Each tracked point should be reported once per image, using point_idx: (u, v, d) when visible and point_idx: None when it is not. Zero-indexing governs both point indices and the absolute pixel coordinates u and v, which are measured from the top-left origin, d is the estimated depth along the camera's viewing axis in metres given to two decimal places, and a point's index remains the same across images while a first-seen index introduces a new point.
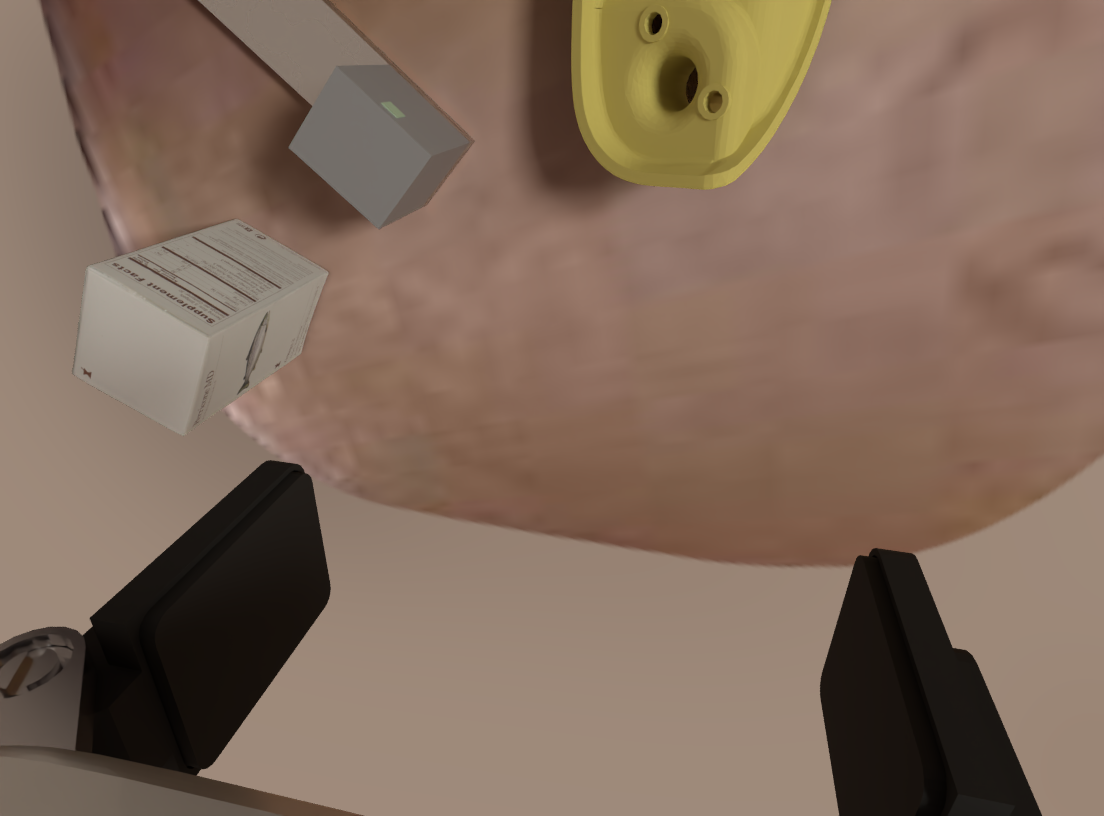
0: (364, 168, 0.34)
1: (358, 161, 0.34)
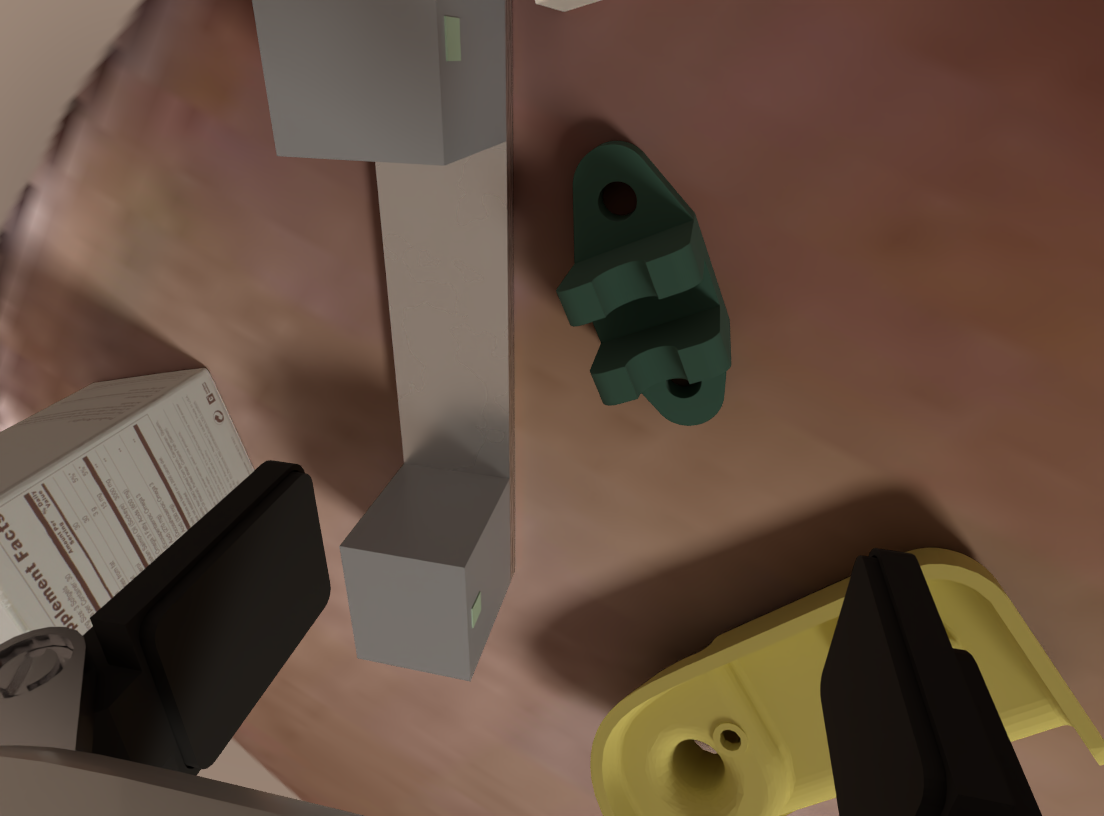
0: (397, 626, 0.27)
1: (399, 619, 0.27)
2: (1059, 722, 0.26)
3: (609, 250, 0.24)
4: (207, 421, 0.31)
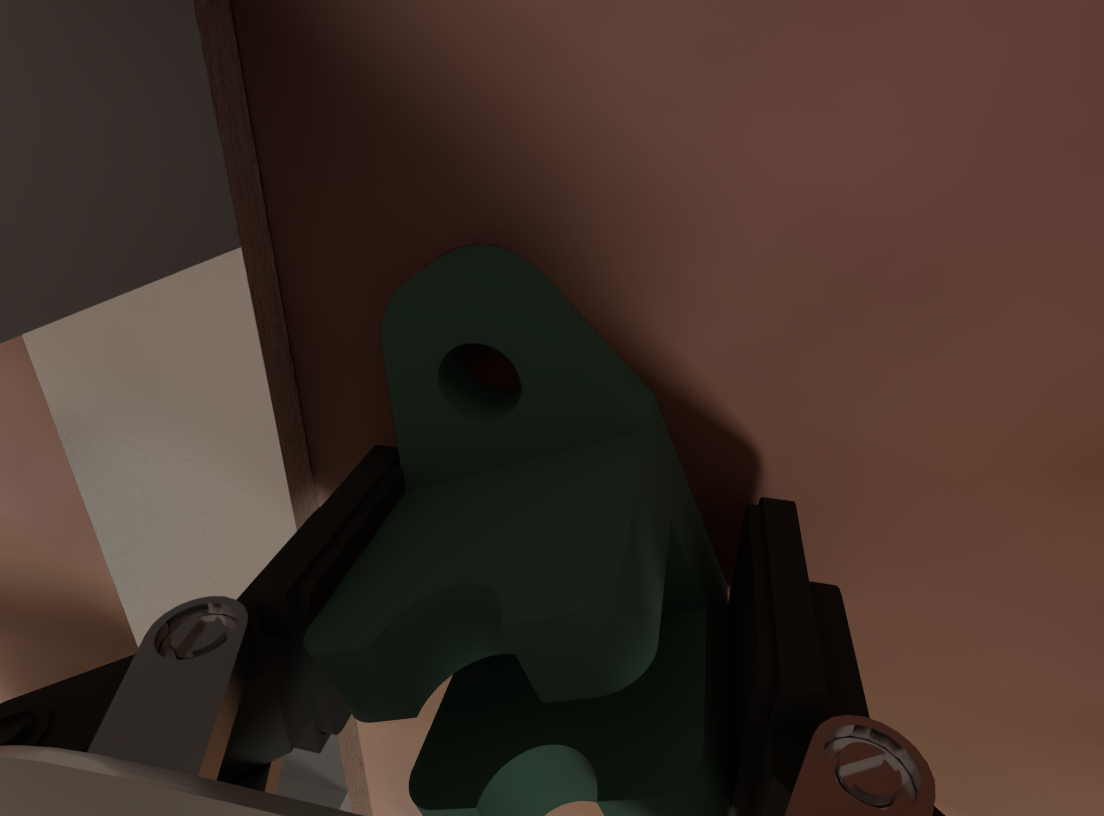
0: None
1: None
2: None
3: (471, 474, 0.11)
4: None
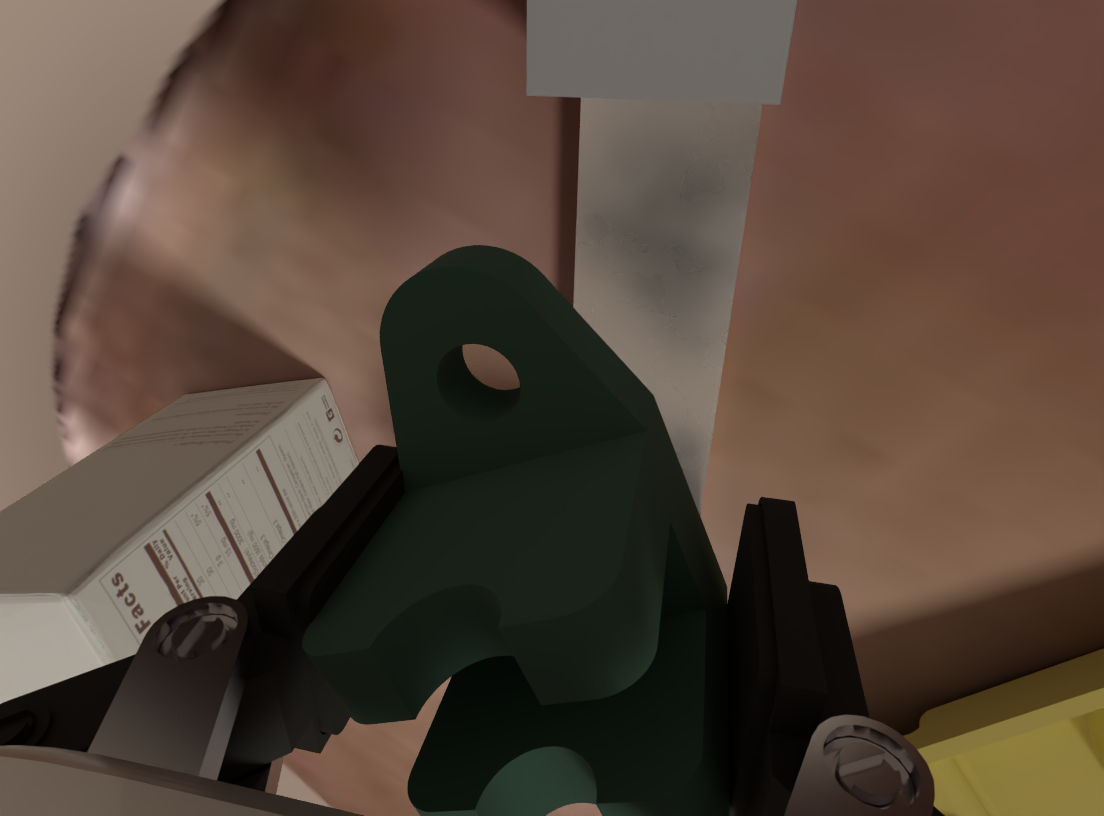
0: None
1: None
2: None
3: (470, 475, 0.11)
4: (327, 442, 0.26)
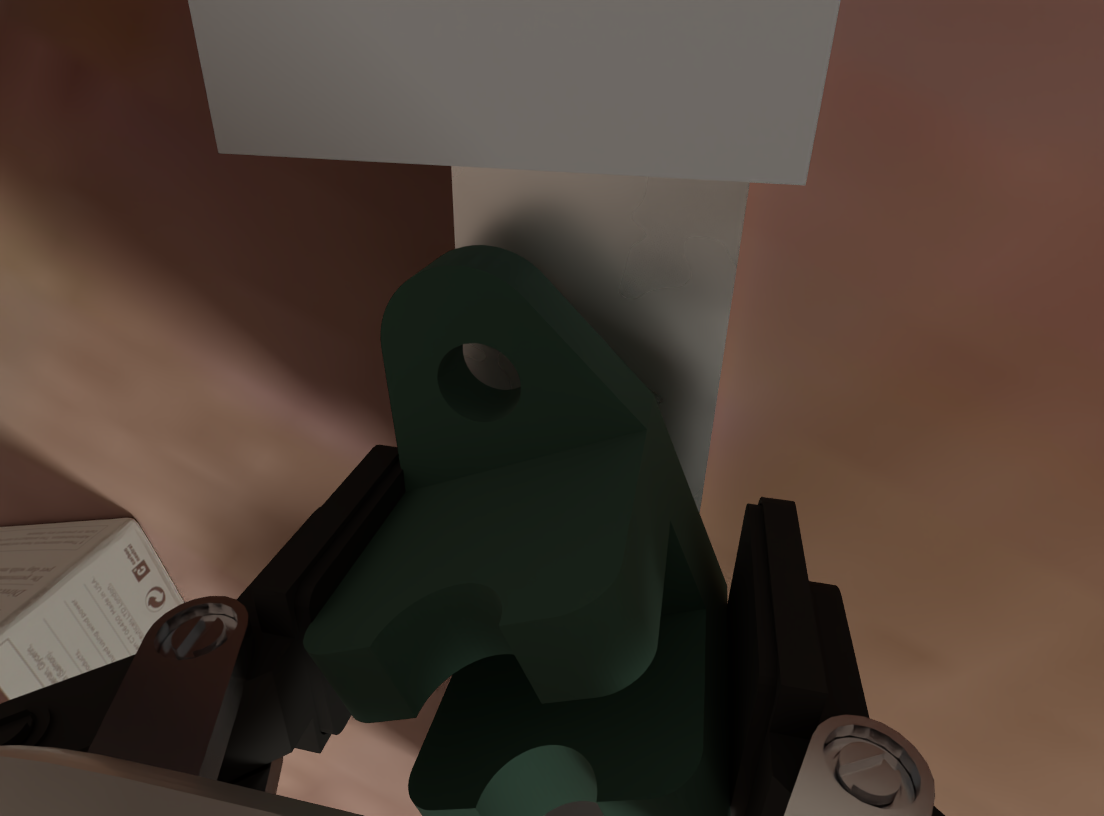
0: None
1: None
2: None
3: (471, 475, 0.11)
4: (134, 613, 0.18)
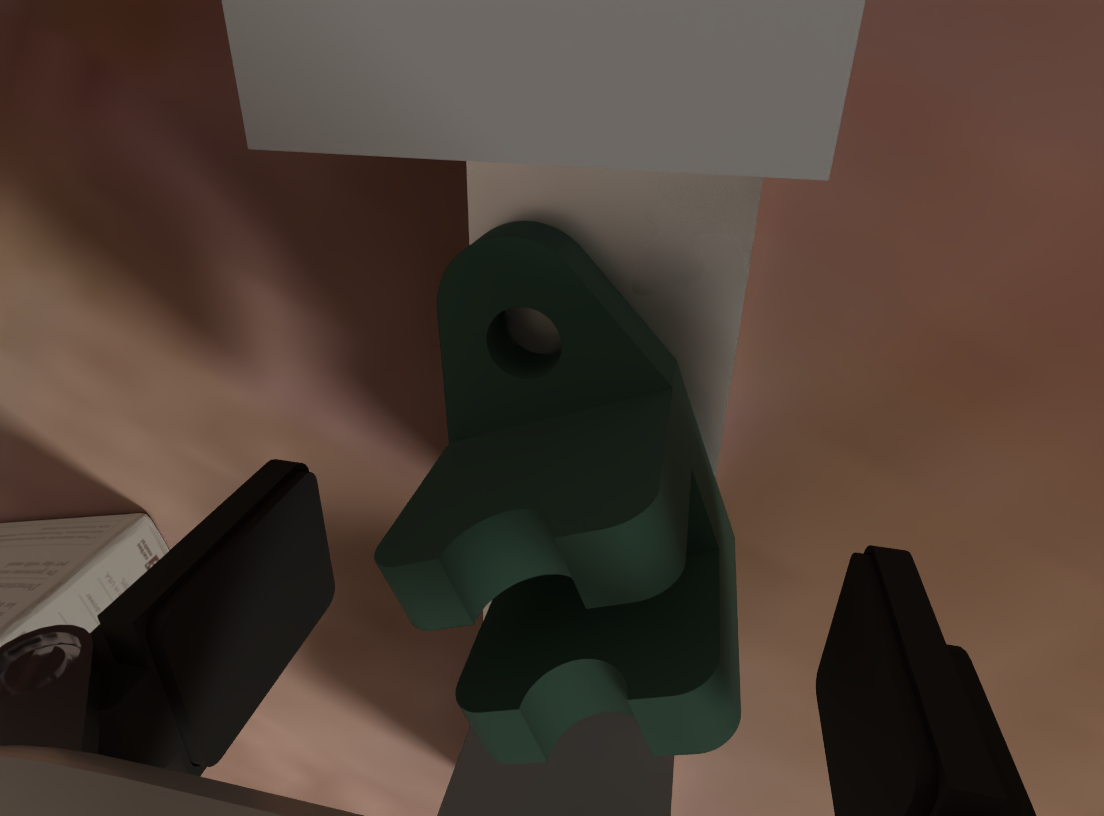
0: None
1: None
2: None
3: (511, 427, 0.12)
4: None
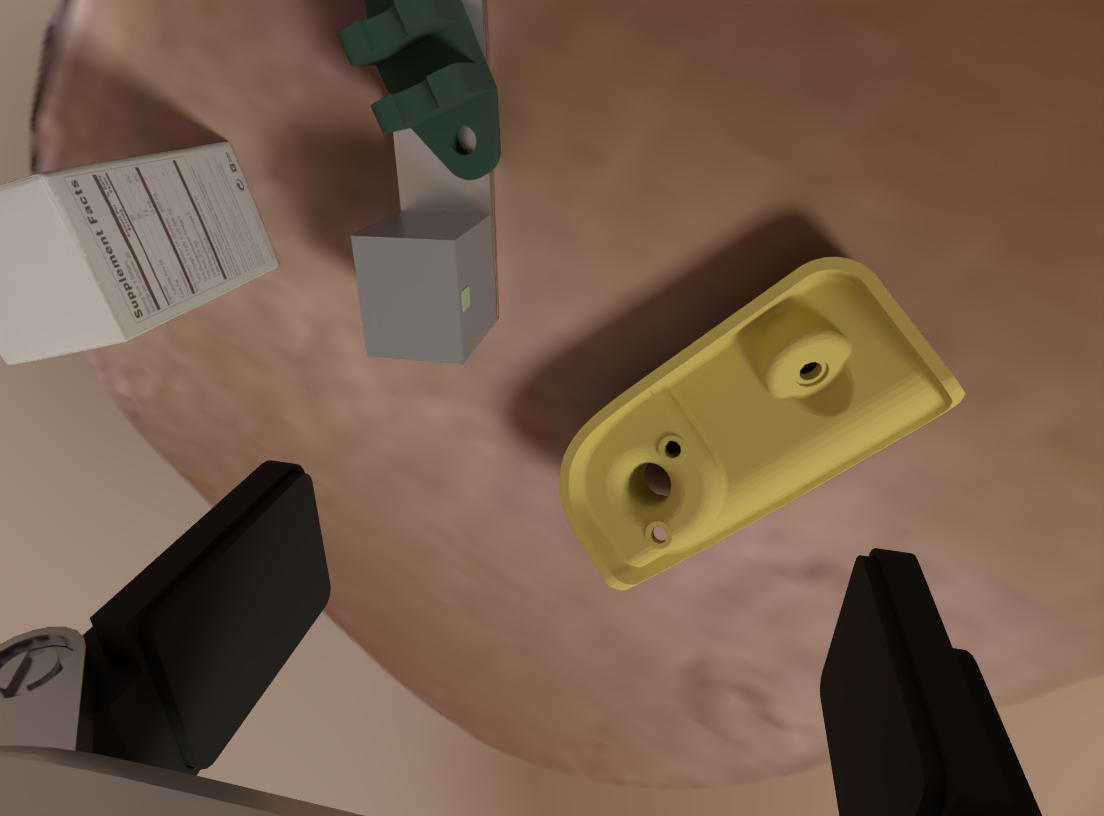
0: (400, 315, 0.32)
1: (401, 306, 0.32)
2: (929, 392, 0.33)
3: None
4: (231, 184, 0.37)
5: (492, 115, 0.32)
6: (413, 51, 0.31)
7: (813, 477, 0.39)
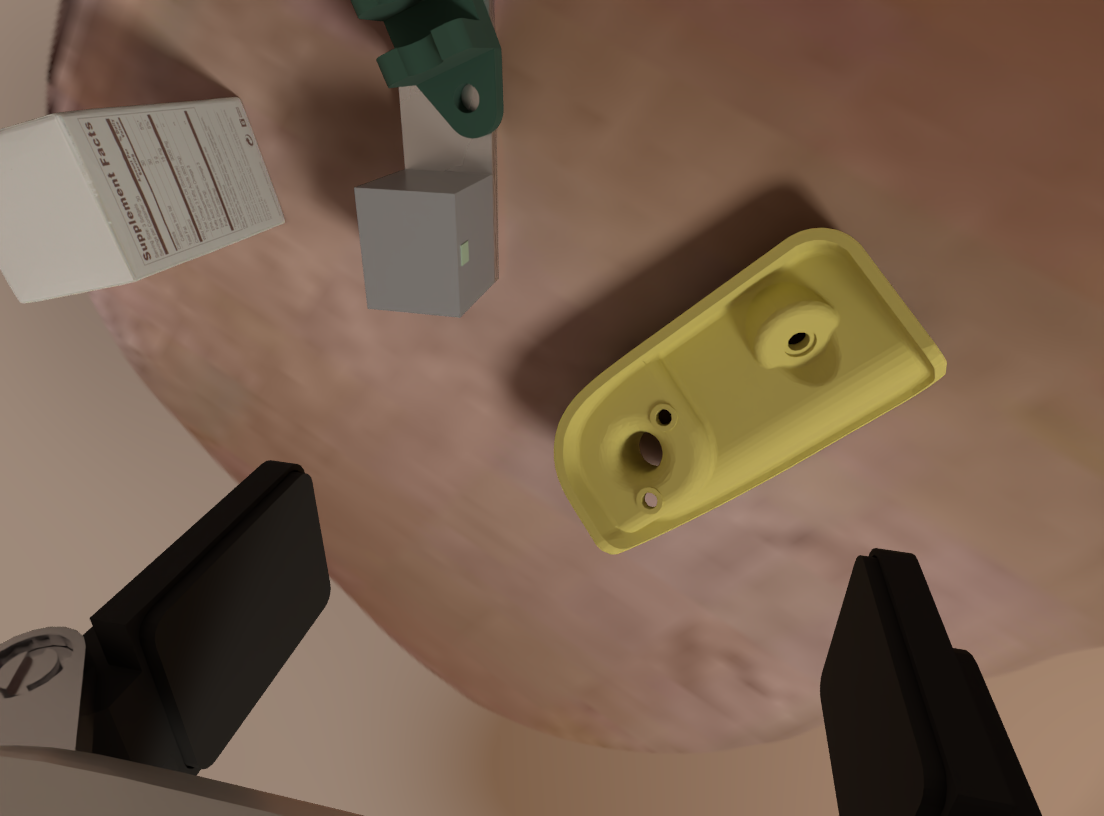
0: (401, 267, 0.33)
1: (402, 259, 0.33)
2: (914, 362, 0.34)
3: None
4: (240, 138, 0.37)
5: (495, 74, 0.33)
6: (420, 8, 0.31)
7: (803, 448, 0.39)
